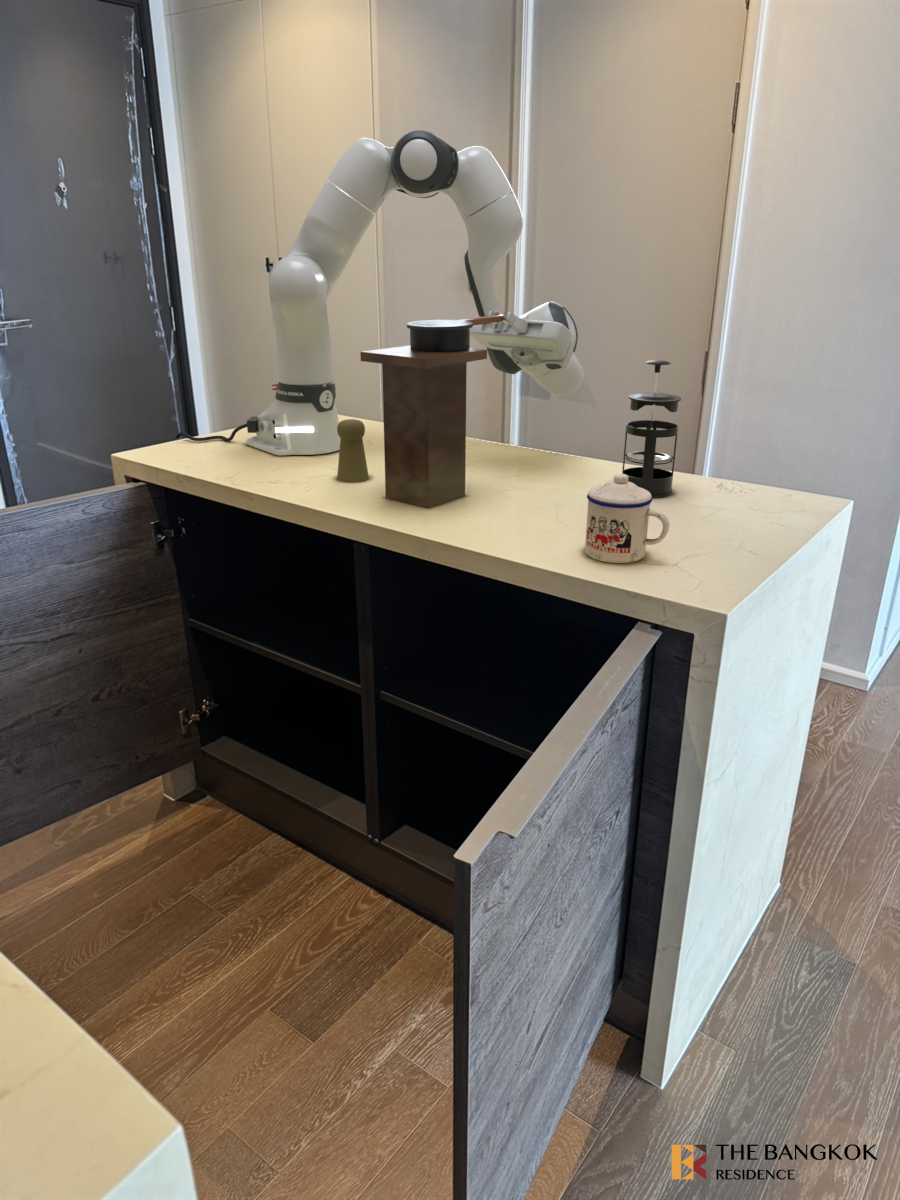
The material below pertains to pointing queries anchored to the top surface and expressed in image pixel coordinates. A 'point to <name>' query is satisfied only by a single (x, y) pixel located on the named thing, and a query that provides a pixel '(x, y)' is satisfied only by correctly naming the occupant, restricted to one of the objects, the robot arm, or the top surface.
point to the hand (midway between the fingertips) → (498, 315)
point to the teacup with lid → (620, 521)
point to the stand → (424, 422)
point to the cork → (352, 452)
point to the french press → (652, 441)
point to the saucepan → (445, 333)
